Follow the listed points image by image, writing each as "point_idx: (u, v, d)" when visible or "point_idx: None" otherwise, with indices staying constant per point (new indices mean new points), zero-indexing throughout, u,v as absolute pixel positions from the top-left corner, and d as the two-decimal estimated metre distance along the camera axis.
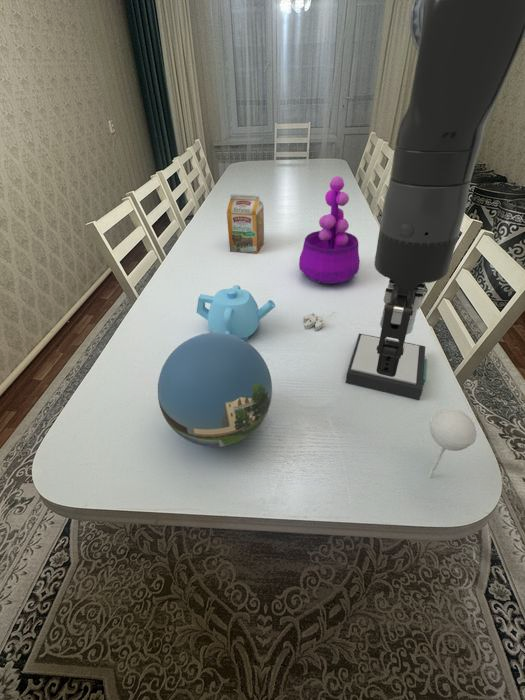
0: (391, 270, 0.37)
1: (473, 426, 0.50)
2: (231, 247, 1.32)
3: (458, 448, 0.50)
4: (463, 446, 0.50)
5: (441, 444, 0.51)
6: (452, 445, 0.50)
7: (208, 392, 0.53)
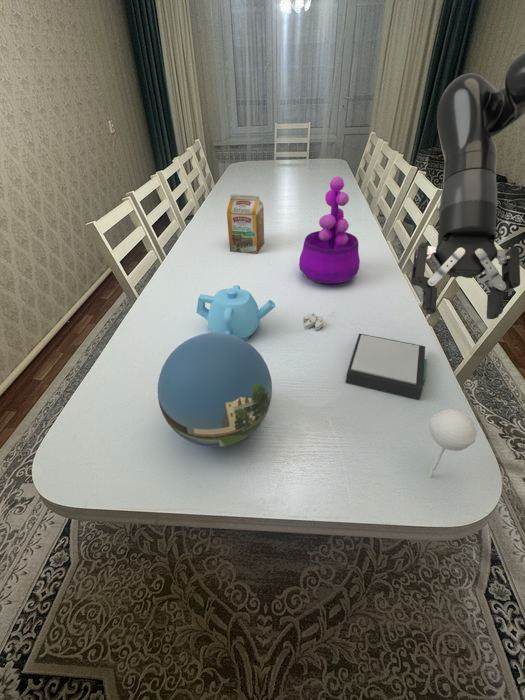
0: None
1: (473, 426, 0.50)
2: (231, 247, 1.32)
3: (458, 448, 0.50)
4: (463, 446, 0.50)
5: (441, 444, 0.51)
6: (452, 444, 0.50)
7: (208, 392, 0.53)
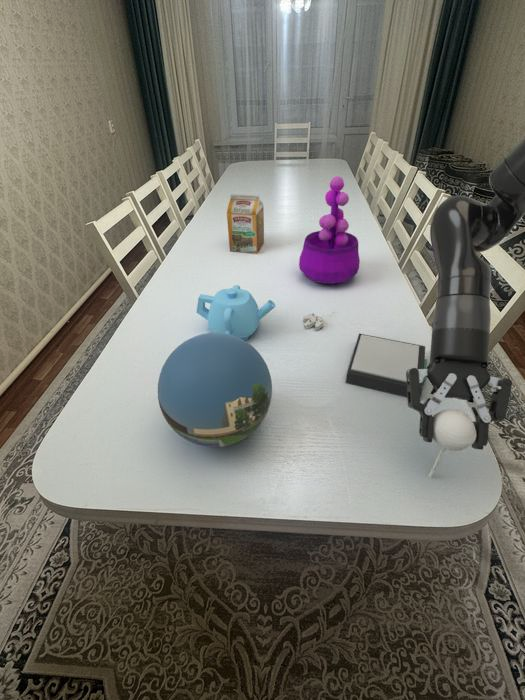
0: None
1: (473, 426, 0.50)
2: (231, 247, 1.32)
3: (458, 448, 0.50)
4: (463, 446, 0.50)
5: (441, 444, 0.51)
6: (451, 444, 0.50)
7: (208, 392, 0.53)
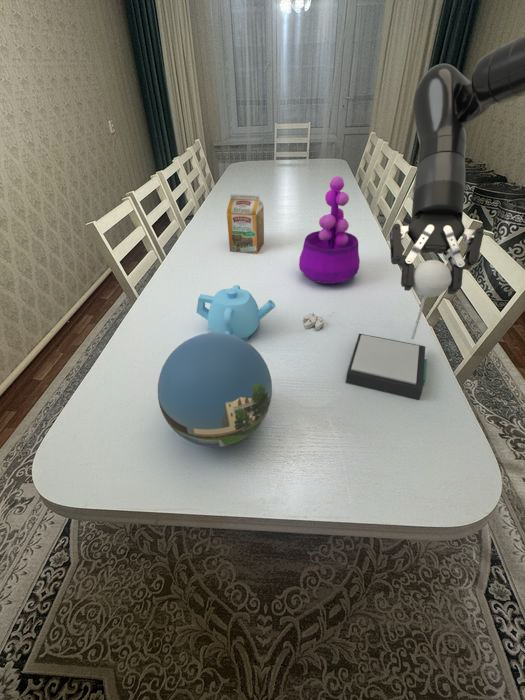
0: None
1: (448, 270, 0.55)
2: (231, 247, 1.32)
3: (435, 290, 0.55)
4: (439, 287, 0.55)
5: (420, 289, 0.57)
6: (429, 286, 0.55)
7: (208, 392, 0.53)
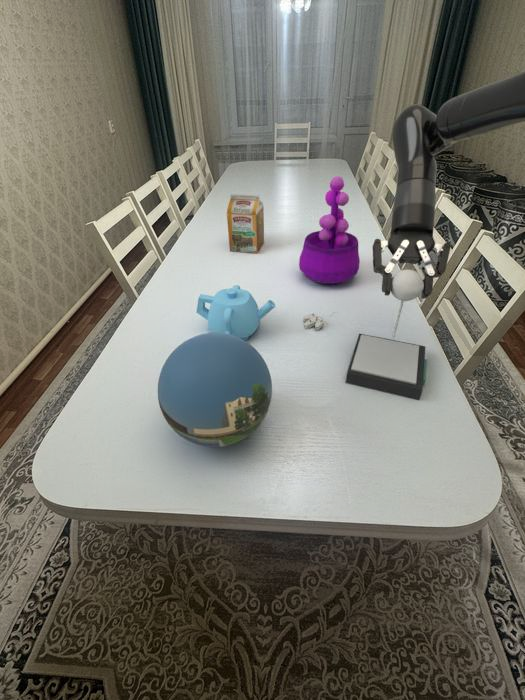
0: None
1: (421, 278, 0.66)
2: (231, 247, 1.32)
3: (409, 295, 0.66)
4: (413, 292, 0.65)
5: (397, 294, 0.67)
6: (404, 292, 0.65)
7: (208, 392, 0.53)
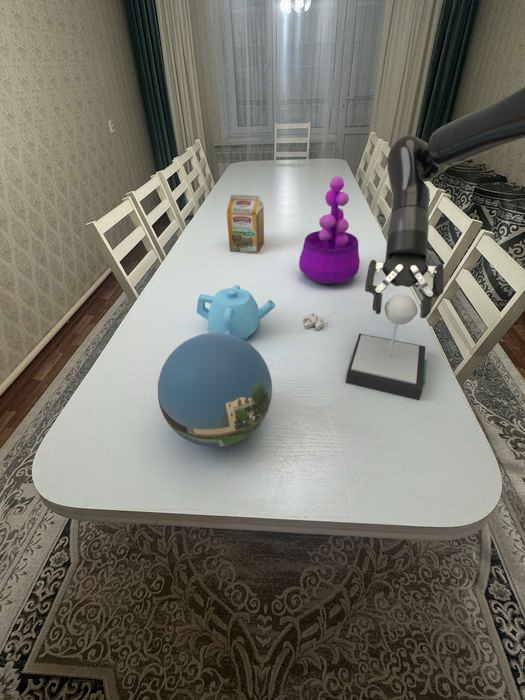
0: None
1: (414, 303, 0.69)
2: (231, 247, 1.32)
3: (403, 319, 0.69)
4: (406, 317, 0.69)
5: (392, 318, 0.70)
6: (398, 316, 0.69)
7: (208, 392, 0.53)
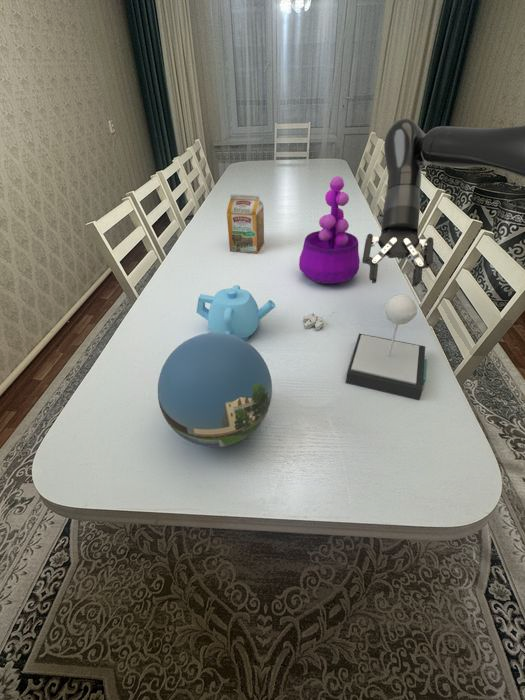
0: None
1: (414, 303, 0.69)
2: (231, 247, 1.32)
3: (403, 319, 0.69)
4: (406, 317, 0.69)
5: (391, 318, 0.70)
6: (398, 316, 0.69)
7: (208, 392, 0.53)
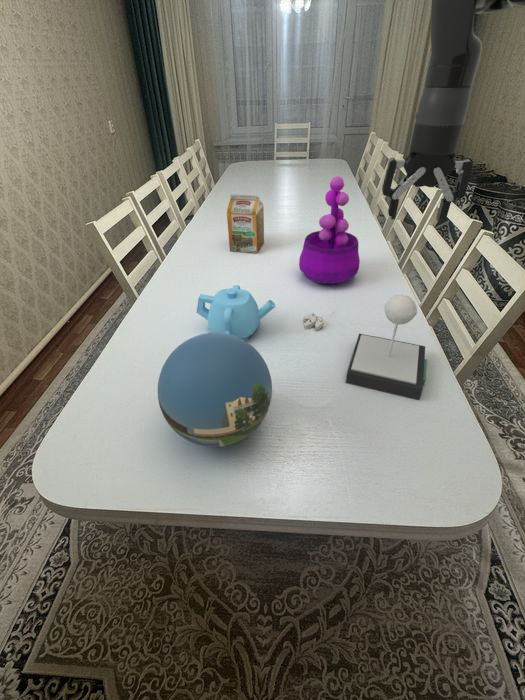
0: None
1: (414, 303, 0.69)
2: (231, 247, 1.32)
3: (403, 319, 0.69)
4: (406, 317, 0.69)
5: (391, 318, 0.70)
6: (398, 316, 0.69)
7: (208, 392, 0.53)
